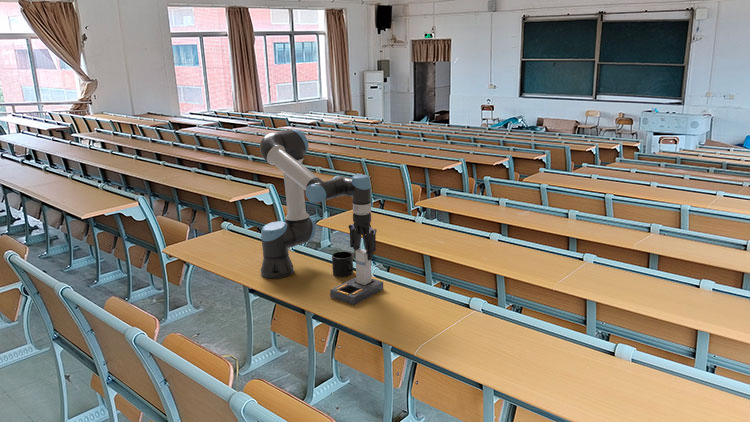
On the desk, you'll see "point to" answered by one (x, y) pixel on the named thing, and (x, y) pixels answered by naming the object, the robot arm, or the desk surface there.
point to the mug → (342, 264)
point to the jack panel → (356, 291)
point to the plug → (362, 268)
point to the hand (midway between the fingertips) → (363, 265)
